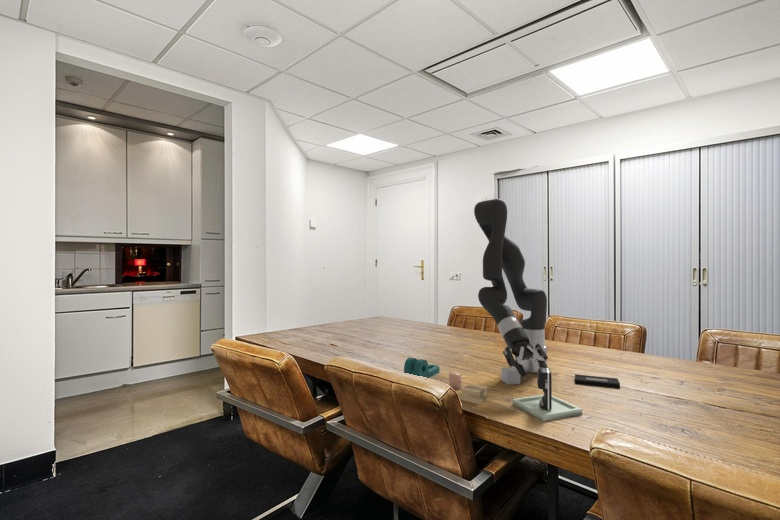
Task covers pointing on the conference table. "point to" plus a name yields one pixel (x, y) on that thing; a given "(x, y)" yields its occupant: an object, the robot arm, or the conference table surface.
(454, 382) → the pink glossy rounded part
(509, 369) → the grey box
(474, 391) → the oak block
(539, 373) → the battery charger
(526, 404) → the tray
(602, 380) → the vhs tape
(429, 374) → the bracket
